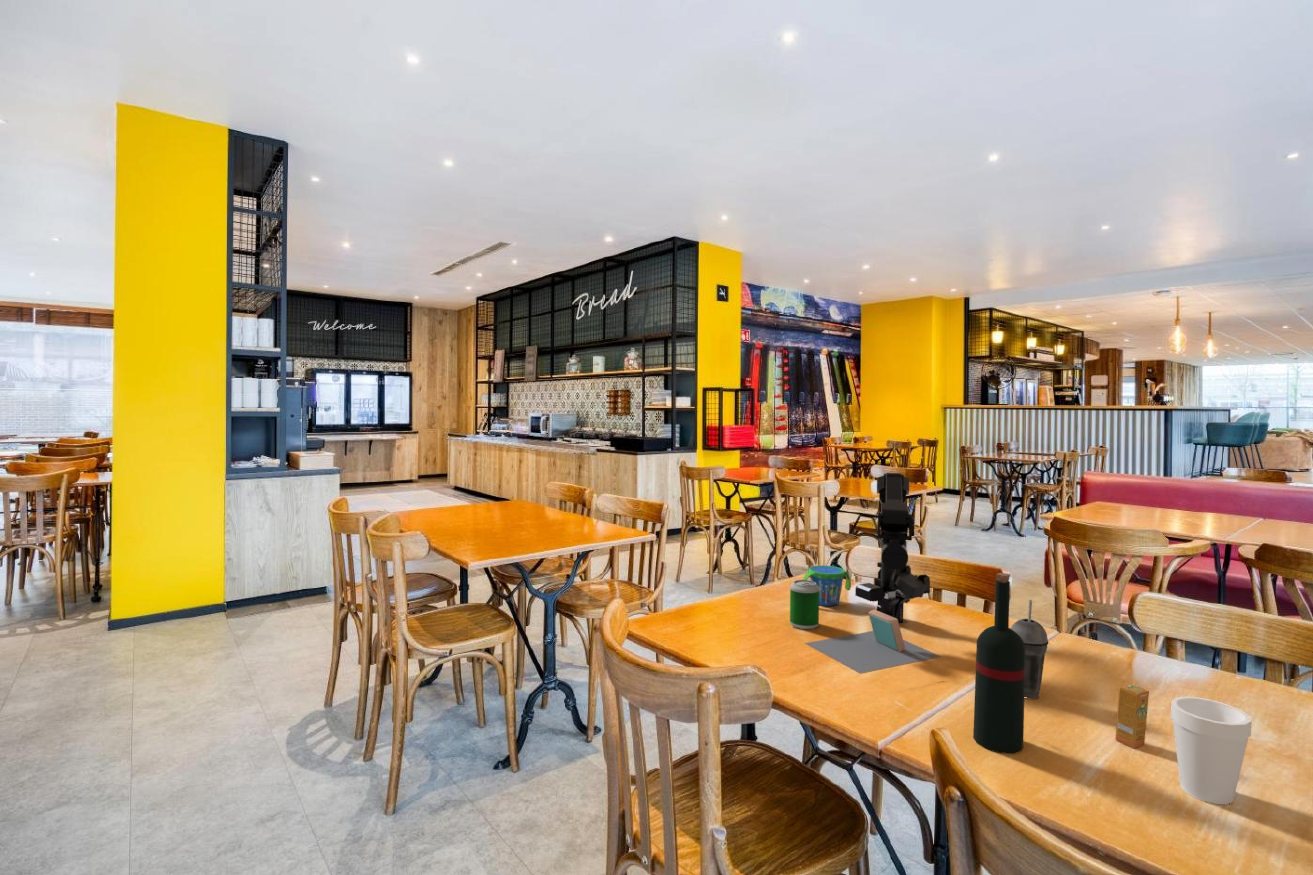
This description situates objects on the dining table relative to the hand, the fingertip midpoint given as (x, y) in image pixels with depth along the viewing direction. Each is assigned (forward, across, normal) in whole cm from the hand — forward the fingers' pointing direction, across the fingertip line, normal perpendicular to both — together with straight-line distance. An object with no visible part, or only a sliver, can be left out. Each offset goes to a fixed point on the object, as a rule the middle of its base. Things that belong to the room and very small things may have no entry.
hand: (892, 623), depth 163 cm
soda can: (+6, -10, +21) cm, 24 cm away
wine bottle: (+6, -15, -42) cm, 45 cm away
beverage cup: (+6, +6, -31) cm, 32 cm away
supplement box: (+6, +5, -52) cm, 53 cm away
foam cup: (+6, 0, -66) cm, 66 cm away
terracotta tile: (+5, 0, 0) cm, 5 cm away
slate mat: (+6, -6, 0) cm, 9 cm away
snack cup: (+6, +9, +36) cm, 38 cm away
